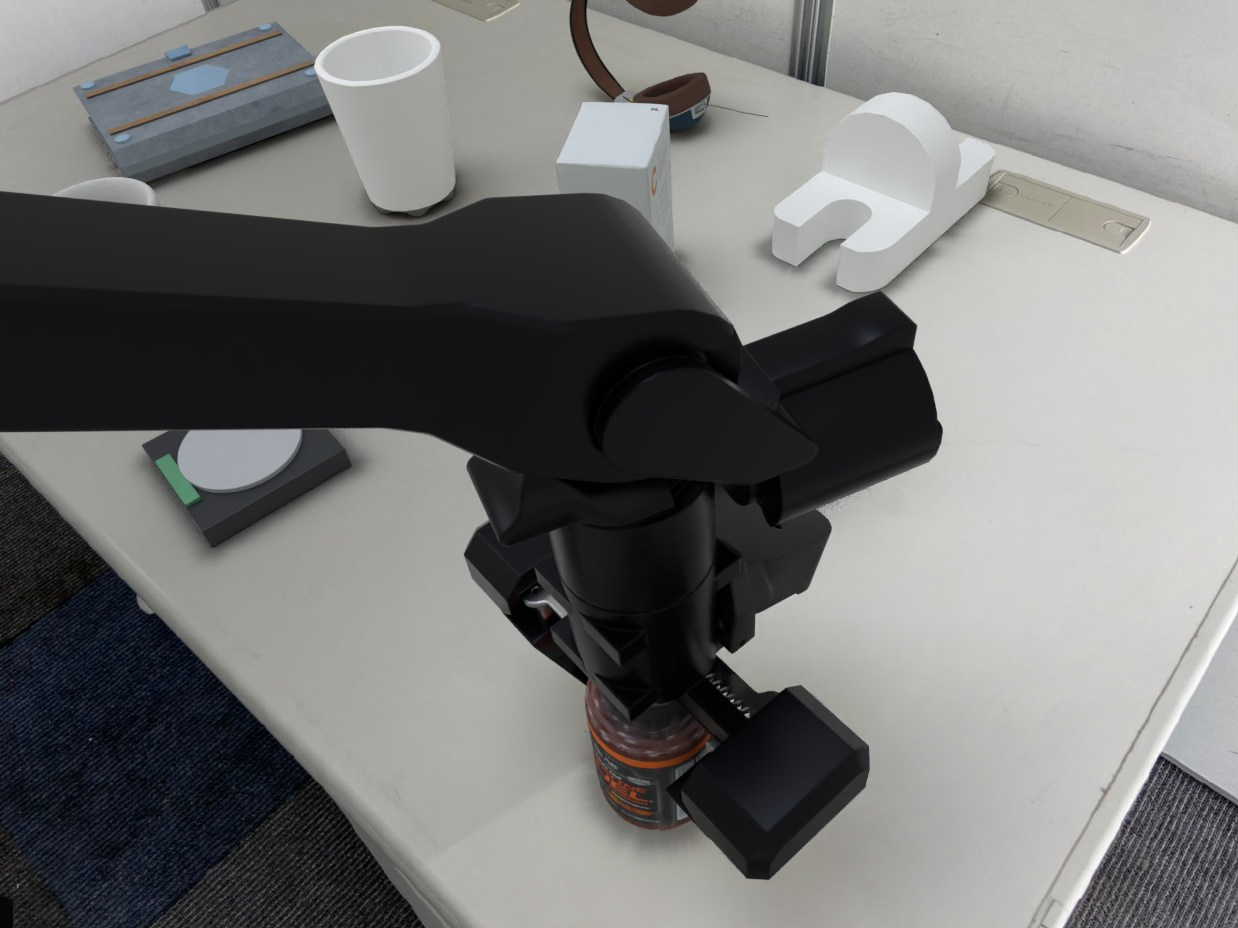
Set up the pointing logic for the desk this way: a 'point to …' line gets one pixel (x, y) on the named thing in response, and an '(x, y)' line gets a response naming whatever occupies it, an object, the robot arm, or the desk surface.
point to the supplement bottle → (643, 757)
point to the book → (204, 101)
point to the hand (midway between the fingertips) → (660, 742)
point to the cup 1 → (112, 191)
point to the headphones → (678, 93)
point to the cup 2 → (392, 114)
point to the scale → (242, 472)
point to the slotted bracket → (883, 191)
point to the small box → (622, 158)
